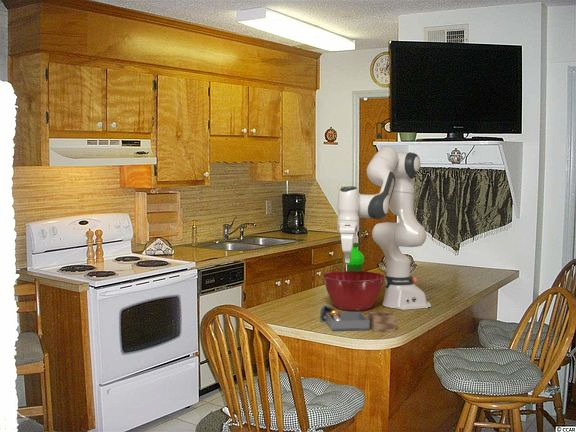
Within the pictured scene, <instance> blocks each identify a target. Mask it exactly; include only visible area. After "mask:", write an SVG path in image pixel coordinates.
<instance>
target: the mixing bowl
mask: <svg viewBox="0 0 576 432" xmlns="http://www.w3.org/2000/svg"><path fill="white" fill-rule="evenodd" d="M322 278H323V282H324V284H325V287H326V291H327V294H328V296H329V298H330V300H331V302H332V304H334V306H336V307H337V308H338V309H339V310H342V311H344V312H363V311H367V310H368V309H370V308H372V307H373V306H374V304H375V303H376V301H377V299H378V297H379V295H380V292H381V290H382V287H383V283H384V281H385V274H383V273H382V274H381V273H378V272H372V271H364V270H362V271H347V270H340V271H331V272H330V271H329V272H326V273H323V274H322Z"/></svg>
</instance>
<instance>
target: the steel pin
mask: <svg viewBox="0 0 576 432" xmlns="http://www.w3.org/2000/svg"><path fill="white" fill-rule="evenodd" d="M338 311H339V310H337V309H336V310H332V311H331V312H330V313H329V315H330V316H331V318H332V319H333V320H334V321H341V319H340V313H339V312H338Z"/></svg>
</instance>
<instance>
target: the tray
mask: <svg viewBox="0 0 576 432" xmlns="http://www.w3.org/2000/svg"><path fill="white" fill-rule="evenodd" d="M339 313H340V319H341V321H334V320H333V319H332V318H331V316H330V315H329V313H326V322H325V324H327V326H328V327H329V329H330V330H331V331H332V332H355V331H356V332H357V331H358V332H360V331H362V332H363V331H370V320H369V319H368V316H366V315H365V314H364V313H362V311H340V312H339Z"/></svg>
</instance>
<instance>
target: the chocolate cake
mask: <svg viewBox="0 0 576 432" xmlns="http://www.w3.org/2000/svg"><path fill="white" fill-rule="evenodd" d="M332 310H337V309H336V308H334V307H331V306H330V305H327V304H324V303H323V304H322V307H321V309H320V313H319V319H320V322H322V323H326V313H330V312H331V311H332ZM337 311H338V312H341V311H340V310H337Z"/></svg>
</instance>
